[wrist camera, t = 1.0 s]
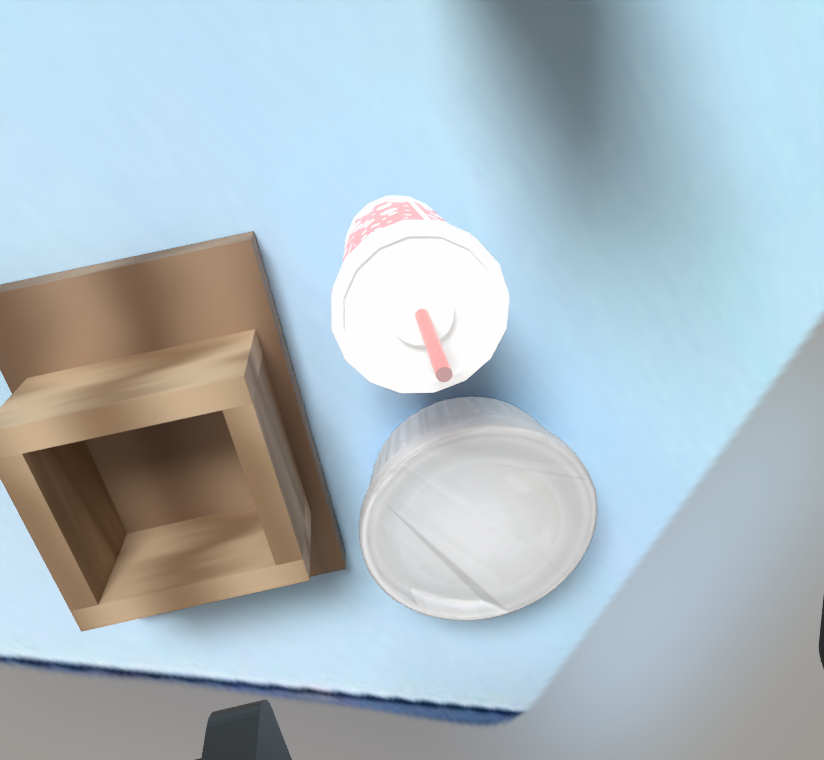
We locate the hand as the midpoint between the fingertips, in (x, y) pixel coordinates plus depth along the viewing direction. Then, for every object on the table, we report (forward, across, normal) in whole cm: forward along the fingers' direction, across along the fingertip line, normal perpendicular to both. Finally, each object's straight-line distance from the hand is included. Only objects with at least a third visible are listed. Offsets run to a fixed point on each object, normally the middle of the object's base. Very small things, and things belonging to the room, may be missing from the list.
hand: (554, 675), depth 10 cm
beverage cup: (+25, 0, 0) cm, 25 cm away
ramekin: (+25, -1, +13) cm, 28 cm away
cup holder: (+24, +12, +7) cm, 28 cm away
